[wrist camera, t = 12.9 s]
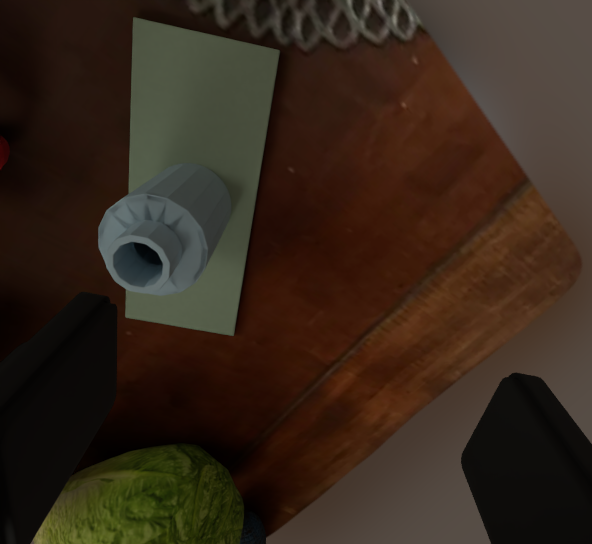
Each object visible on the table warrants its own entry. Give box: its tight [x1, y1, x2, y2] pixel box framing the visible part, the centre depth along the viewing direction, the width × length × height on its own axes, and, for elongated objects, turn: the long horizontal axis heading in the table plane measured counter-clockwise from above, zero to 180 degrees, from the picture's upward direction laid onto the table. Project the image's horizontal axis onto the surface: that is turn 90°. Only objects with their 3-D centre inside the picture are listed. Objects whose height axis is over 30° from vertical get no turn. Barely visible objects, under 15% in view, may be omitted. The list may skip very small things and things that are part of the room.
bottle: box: [99, 163, 231, 296], centre depth 27 cm, size 6×6×12 cm
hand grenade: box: [239, 509, 266, 544], centre depth 49 cm, size 4×4×10 cm
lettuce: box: [33, 443, 244, 544], centre depth 41 cm, size 15×24×14 cm
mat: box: [125, 17, 280, 336], centre depth 33 cm, size 24×10×1 cm, turn 169°
